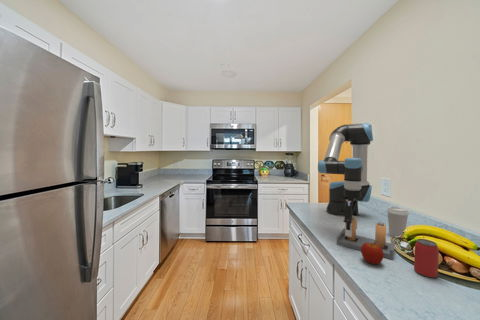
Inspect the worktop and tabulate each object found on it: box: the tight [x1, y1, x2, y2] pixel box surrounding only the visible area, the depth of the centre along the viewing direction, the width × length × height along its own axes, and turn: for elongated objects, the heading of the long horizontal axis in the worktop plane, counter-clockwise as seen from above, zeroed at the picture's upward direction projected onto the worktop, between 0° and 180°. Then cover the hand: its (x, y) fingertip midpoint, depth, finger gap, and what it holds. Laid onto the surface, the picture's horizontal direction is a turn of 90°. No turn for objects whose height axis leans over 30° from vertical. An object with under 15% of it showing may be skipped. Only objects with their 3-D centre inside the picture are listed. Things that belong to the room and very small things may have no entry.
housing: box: [336, 221, 396, 261], centre depth 97 cm, size 13×22×13 cm, turn 50°
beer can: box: [413, 238, 440, 279], centre depth 76 cm, size 7×7×12 cm
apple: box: [360, 243, 384, 265], centre depth 83 cm, size 8×8×8 cm
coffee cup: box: [386, 206, 410, 238], centre depth 108 cm, size 10×10×15 cm
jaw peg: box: [346, 217, 357, 242], centre depth 101 cm, size 4×4×13 cm
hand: (351, 231), depth 101 cm, fingers open, 12 cm apart
